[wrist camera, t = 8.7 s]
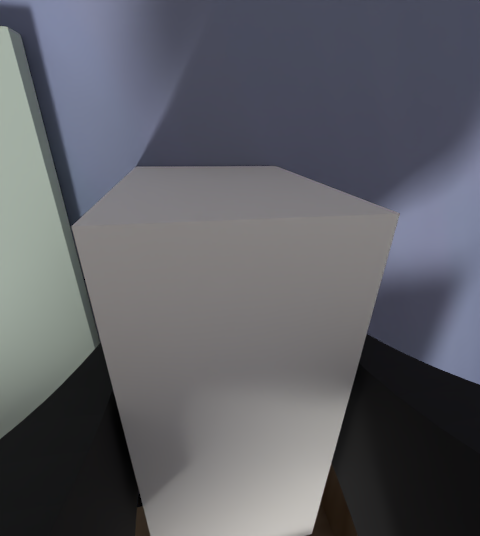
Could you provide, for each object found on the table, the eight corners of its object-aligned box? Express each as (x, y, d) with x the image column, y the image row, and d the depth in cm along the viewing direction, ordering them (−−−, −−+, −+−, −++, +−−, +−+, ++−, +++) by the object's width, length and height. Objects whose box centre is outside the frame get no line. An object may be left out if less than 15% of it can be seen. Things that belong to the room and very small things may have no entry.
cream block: (166, 394, 13) (160, 573, 8) (135, 166, 9) (71, 226, 3) (260, 380, 14) (312, 534, 9) (275, 165, 9) (399, 213, 4)
